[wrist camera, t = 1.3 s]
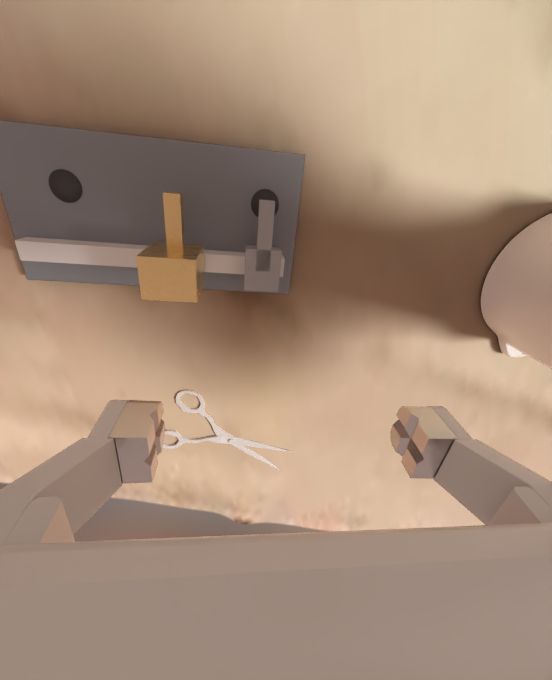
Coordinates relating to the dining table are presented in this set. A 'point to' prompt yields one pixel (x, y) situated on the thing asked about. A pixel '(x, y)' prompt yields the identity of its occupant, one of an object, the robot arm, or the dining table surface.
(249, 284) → the plate
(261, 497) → the dining table surface
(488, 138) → the dining table surface
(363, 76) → the dining table surface
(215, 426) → the scissors
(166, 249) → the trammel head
